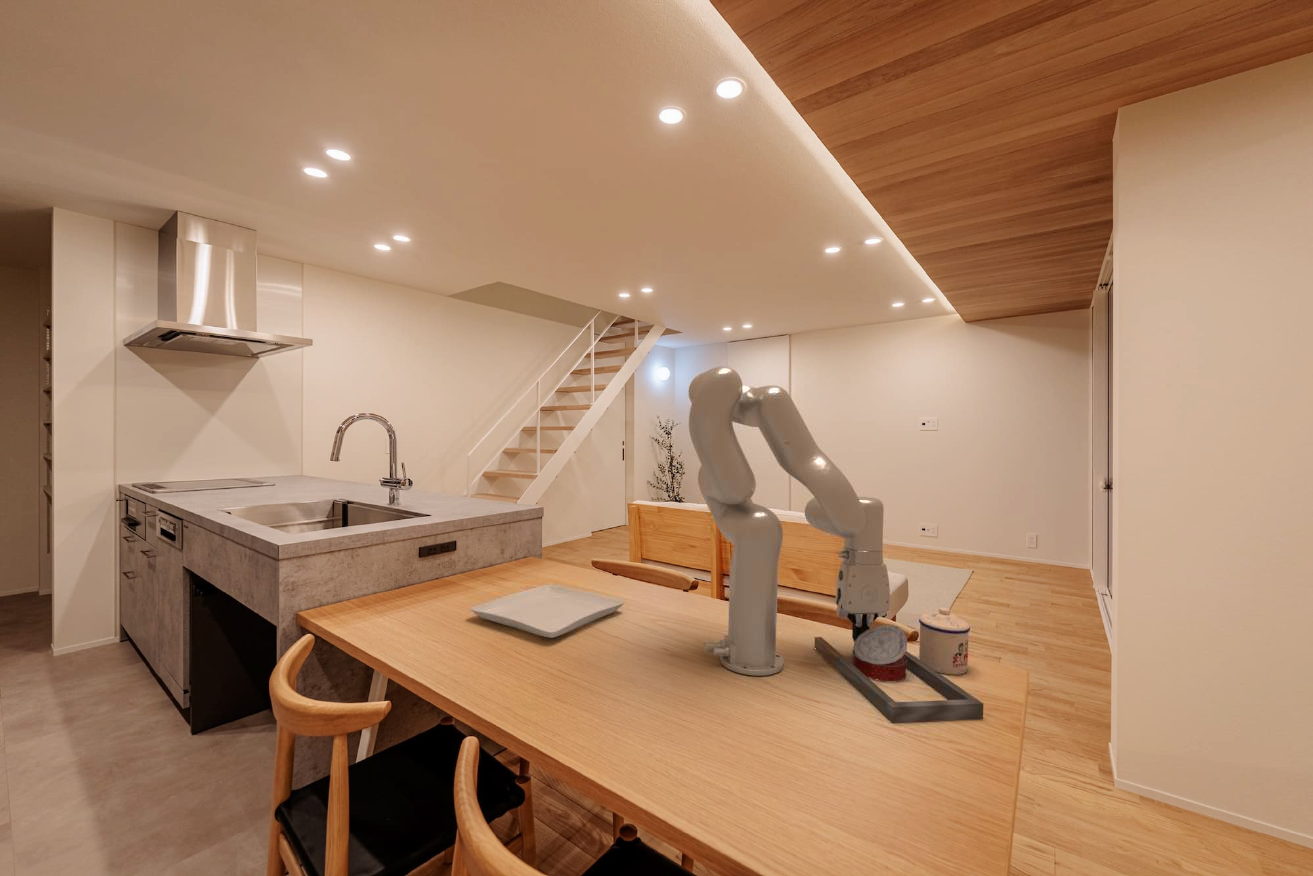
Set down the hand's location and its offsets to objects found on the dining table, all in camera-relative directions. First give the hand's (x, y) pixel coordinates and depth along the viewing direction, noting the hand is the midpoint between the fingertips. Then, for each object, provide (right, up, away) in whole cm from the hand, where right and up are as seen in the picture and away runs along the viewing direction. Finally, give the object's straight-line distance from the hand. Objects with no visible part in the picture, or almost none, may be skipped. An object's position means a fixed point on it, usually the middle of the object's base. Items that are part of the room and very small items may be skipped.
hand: (860, 643), depth 111 cm
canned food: (+1, -3, -6) cm, 7 cm away
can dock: (+1, -3, -10) cm, 11 cm away
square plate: (-69, -1, +19) cm, 72 cm away
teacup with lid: (+16, -3, -3) cm, 17 cm away
